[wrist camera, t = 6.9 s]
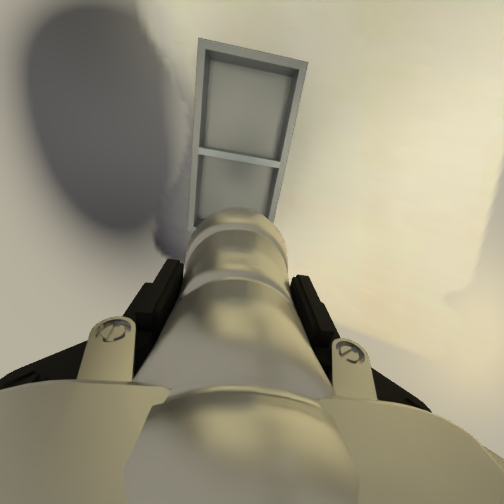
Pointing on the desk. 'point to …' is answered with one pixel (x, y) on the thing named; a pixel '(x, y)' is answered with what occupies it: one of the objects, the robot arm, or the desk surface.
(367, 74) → the desk surface
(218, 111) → the grey divided tray
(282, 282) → the plastic bottle
